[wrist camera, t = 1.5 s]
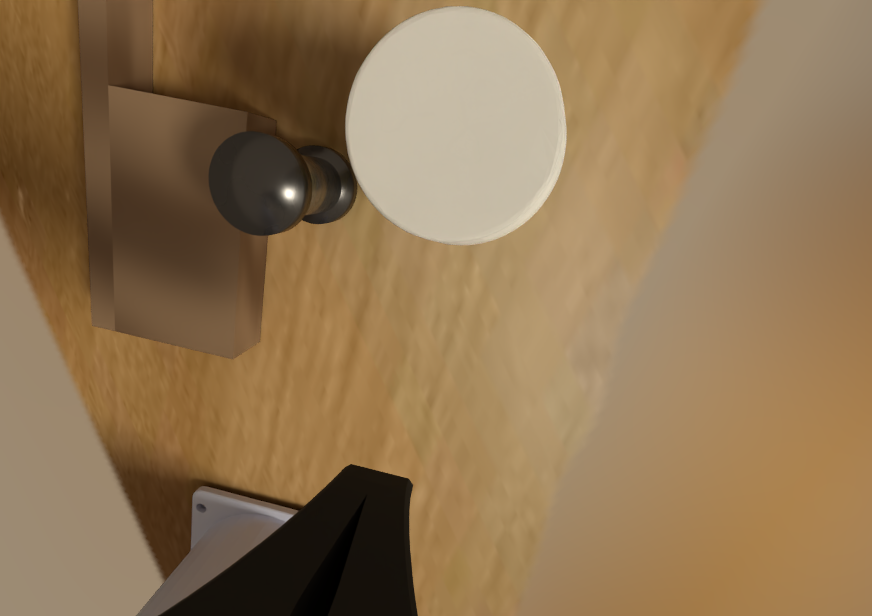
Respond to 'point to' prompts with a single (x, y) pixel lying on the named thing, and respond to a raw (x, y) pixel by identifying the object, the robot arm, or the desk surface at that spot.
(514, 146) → the supplement bottle
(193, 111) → the notched board
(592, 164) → the desk surface
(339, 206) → the spool post
